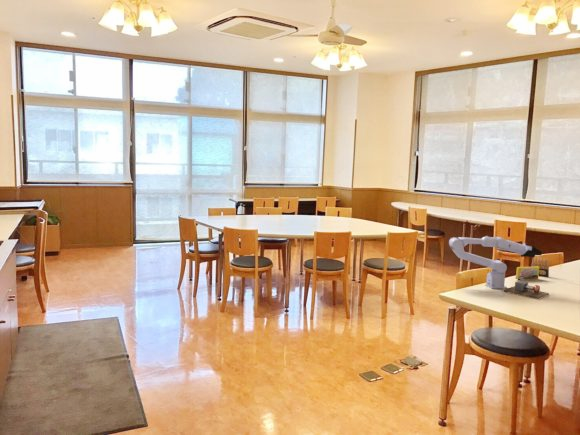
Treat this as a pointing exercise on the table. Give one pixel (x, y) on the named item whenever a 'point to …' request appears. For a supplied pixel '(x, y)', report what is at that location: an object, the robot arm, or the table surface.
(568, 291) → the table surface
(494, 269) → the robot arm
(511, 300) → the table surface
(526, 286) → the shaft
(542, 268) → the ammunition clip
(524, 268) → the candy box
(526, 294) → the base plate
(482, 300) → the table surface
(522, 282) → the bearing housing
